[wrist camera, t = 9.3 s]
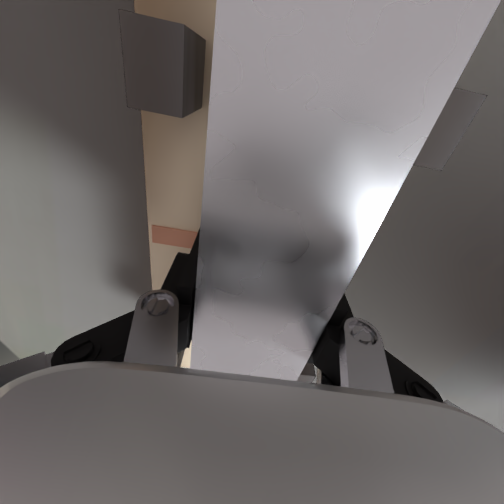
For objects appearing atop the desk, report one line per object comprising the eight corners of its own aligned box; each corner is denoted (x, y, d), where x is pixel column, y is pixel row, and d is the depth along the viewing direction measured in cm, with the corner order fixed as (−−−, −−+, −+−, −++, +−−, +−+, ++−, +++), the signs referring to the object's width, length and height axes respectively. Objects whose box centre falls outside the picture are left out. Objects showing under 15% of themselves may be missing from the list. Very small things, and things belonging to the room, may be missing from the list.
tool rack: (493, -51, 8) (691, -161, 4) (292, 363, 22) (299, 422, 18) (144, -152, 7) (24, -398, 3) (163, 347, 21) (142, 405, 17)
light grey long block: (386, 35, 8) (510, -7, 4) (264, 365, 18) (265, 442, 14) (239, -1, 7) (218, -86, 3) (199, 358, 17) (184, 434, 14)
